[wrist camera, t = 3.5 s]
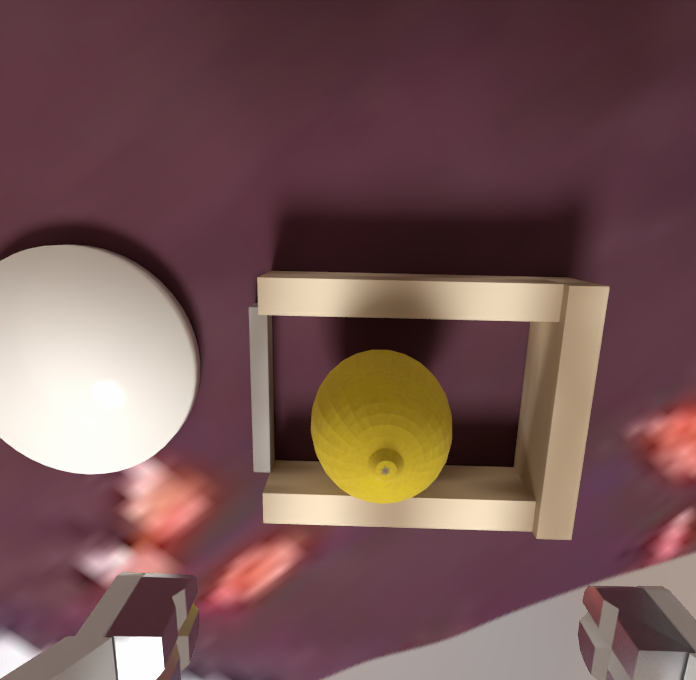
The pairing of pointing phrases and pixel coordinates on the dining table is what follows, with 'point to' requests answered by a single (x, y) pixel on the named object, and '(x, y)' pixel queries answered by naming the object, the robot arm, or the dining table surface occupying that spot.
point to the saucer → (91, 359)
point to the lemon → (381, 426)
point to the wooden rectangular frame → (453, 481)
